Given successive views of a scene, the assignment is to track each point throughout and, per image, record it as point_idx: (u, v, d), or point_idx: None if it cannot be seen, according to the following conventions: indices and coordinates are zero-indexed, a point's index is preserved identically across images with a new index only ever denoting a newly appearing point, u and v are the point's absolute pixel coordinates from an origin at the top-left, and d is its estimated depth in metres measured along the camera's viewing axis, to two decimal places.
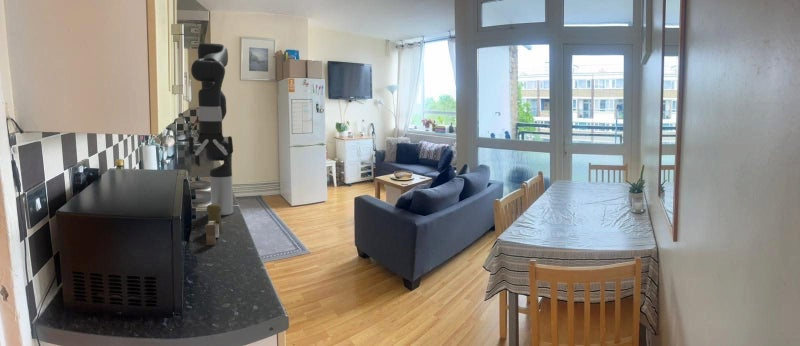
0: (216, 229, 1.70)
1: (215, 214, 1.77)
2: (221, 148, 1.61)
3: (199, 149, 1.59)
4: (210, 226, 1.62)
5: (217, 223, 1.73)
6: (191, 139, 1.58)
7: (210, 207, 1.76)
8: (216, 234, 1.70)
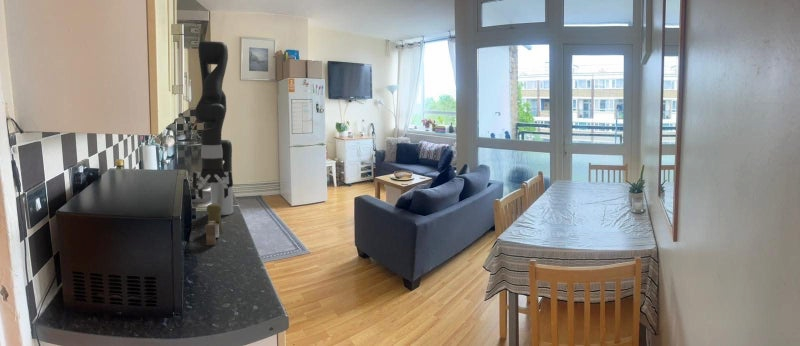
0: (216, 229, 1.70)
1: (215, 214, 1.77)
2: (222, 182, 1.76)
3: (202, 183, 1.74)
4: (210, 226, 1.62)
5: (217, 223, 1.73)
6: (194, 174, 1.73)
7: (210, 207, 1.76)
8: (216, 234, 1.70)
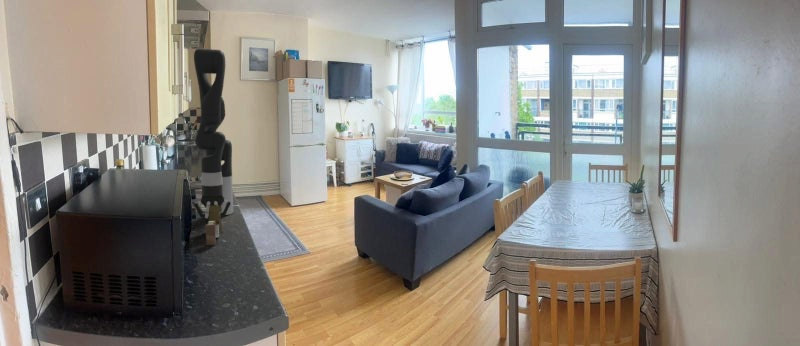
0: (216, 229, 1.70)
1: (215, 214, 1.77)
2: None
3: (206, 212, 1.76)
4: (210, 226, 1.62)
5: (217, 223, 1.73)
6: (196, 205, 1.75)
7: (210, 207, 1.76)
8: (216, 234, 1.70)
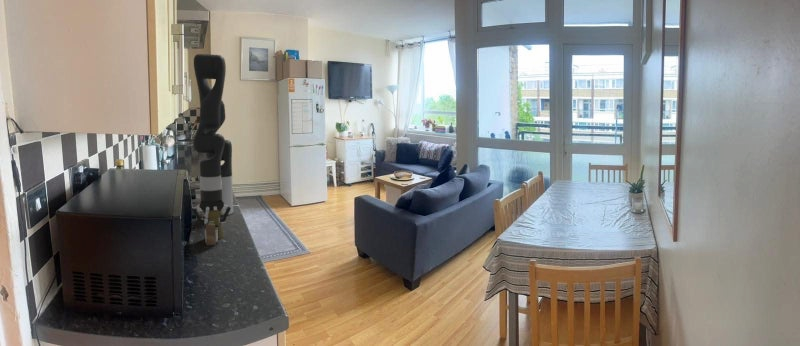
0: (215, 233, 1.65)
1: (215, 219, 1.69)
2: None
3: (206, 218, 1.69)
4: (210, 226, 1.62)
5: (216, 227, 1.68)
6: (194, 210, 1.67)
7: (209, 212, 1.68)
8: None
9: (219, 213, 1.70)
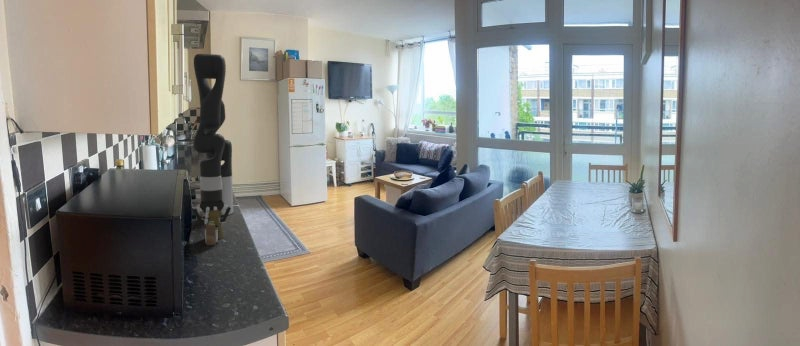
0: (215, 233, 1.65)
1: (215, 219, 1.70)
2: None
3: (206, 218, 1.69)
4: (210, 226, 1.62)
5: (216, 227, 1.68)
6: (195, 211, 1.68)
7: (209, 212, 1.69)
8: None
9: (219, 213, 1.70)
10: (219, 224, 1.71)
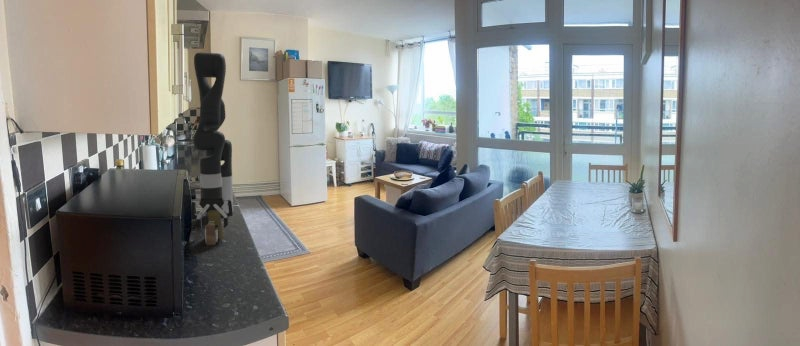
0: (215, 233, 1.65)
1: (215, 219, 1.70)
2: (221, 212, 1.70)
3: (200, 213, 1.68)
4: (210, 226, 1.62)
5: (216, 227, 1.68)
6: (193, 204, 1.67)
7: (209, 212, 1.69)
8: None
9: (219, 213, 1.70)
10: (219, 224, 1.71)
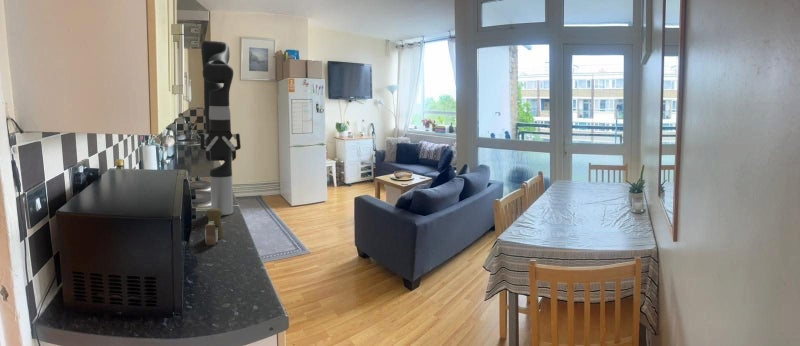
0: (215, 233, 1.65)
1: (215, 219, 1.70)
2: (230, 144, 1.75)
3: (209, 145, 1.73)
4: (210, 226, 1.62)
5: (216, 227, 1.68)
6: (202, 136, 1.72)
7: (209, 212, 1.69)
8: None
9: (219, 213, 1.70)
10: (219, 224, 1.71)
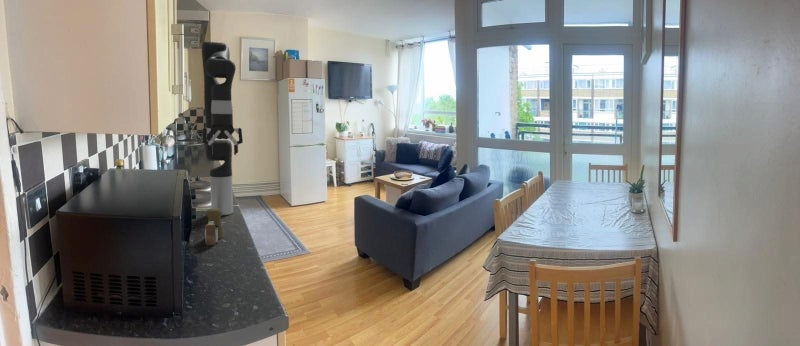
0: (215, 233, 1.65)
1: (215, 219, 1.70)
2: (232, 138, 1.76)
3: (212, 139, 1.74)
4: (210, 226, 1.62)
5: (216, 227, 1.68)
6: (205, 130, 1.73)
7: (209, 212, 1.69)
8: None
9: (219, 213, 1.70)
10: (219, 224, 1.71)
